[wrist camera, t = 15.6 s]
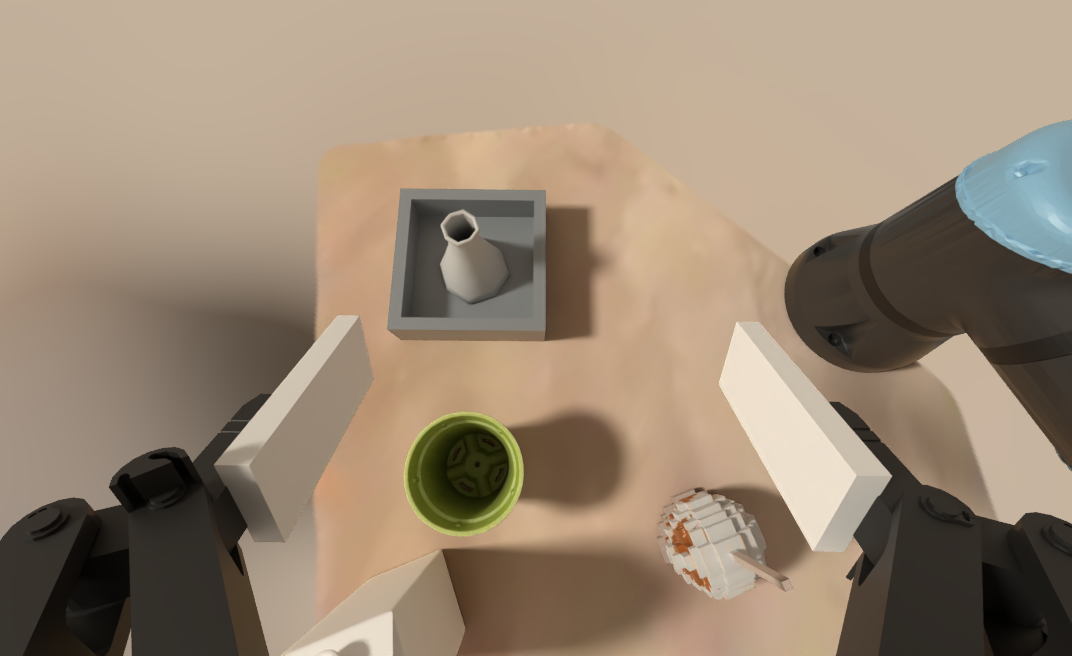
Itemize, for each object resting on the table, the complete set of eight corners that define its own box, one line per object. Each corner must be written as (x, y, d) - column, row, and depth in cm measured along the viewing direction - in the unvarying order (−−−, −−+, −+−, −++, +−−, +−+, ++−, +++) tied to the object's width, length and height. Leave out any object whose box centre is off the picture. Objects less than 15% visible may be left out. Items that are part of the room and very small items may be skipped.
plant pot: (500, 534, 41) (492, 558, 32) (412, 491, 42) (381, 504, 33) (540, 440, 43) (543, 440, 34) (455, 401, 44) (437, 392, 35)
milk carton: (466, 629, 39) (407, 801, 20) (390, 662, 38) (257, 872, 20) (442, 548, 40) (367, 640, 22) (368, 578, 40) (227, 699, 21)
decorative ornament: (642, 506, 41) (702, 543, 27) (715, 477, 42) (812, 498, 28) (675, 591, 40) (759, 680, 25) (751, 560, 40) (875, 628, 26)
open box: (544, 212, 49) (545, 190, 45) (544, 341, 45) (545, 330, 41) (412, 210, 49) (400, 188, 45) (401, 339, 45) (387, 329, 41)
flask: (482, 227, 47) (469, 174, 38) (522, 276, 46) (520, 233, 36) (427, 266, 46) (400, 220, 37) (467, 317, 45) (450, 283, 35)
